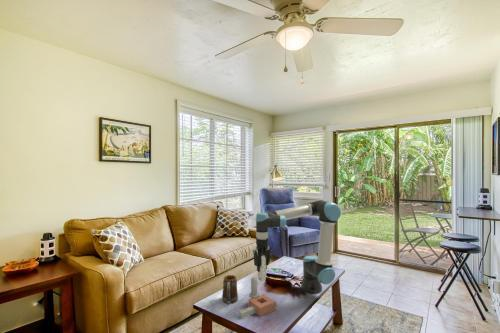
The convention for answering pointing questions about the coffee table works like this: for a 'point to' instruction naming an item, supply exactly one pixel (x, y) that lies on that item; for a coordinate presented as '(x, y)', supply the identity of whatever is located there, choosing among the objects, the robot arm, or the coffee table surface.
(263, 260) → the wedge pin
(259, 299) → the square hole peg fixture
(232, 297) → the mug
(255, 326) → the coffee table surface
